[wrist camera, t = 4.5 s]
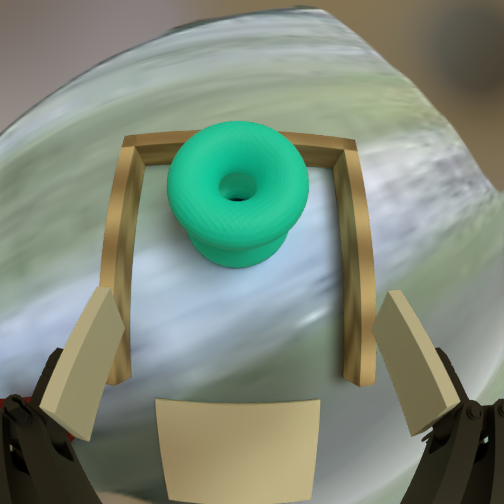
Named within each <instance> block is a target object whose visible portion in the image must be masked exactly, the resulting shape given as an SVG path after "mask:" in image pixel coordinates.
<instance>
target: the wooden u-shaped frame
mask: <svg viewBox="0 0 504 504" xmlns="http://www.w3.org/2000/svg"><path fill="white" fill-rule="evenodd" d="M199 131H201V130H192V131H172V132H159V133H148V134H138V135H129V136H125V137H124V141H123V145H122V148H121V152H120V156H119V160H118V164H117V168H116V173H115V177H114V182H113V187H112V192H111V197H110V202H109V208H108V214H107V220H106V227H105V234H104V242H103V250H102V260H101V271H100V286H99V287H107V288H111V291H112V294H113V297H114V299H115V302H116V305H117V308H118V311H119V313H120V316H121V319H122V321H123V324H124V326H125V330H124V332H123V335H122V338H121V340H120V343H119V346H118V349H117V351H116V354H115V357H114V360H113V363H112V366H111V369H110V372H109V375H108V378H107V381H106V384H108V385H114V386H116V385H118V384H119V383H121V382H123V381H125V380H126V379H128V378H130V377H131V356H130V299H131V278H132V263H133V251H134V241H135V231H136V223H137V215H138V208H139V201H140V194H141V188H142V182H143V177H144V171H145V166H146V165H161V164H171V163H172V161H173V159H174V157H175V155H176V154H177V152H178V151H179V149H180V148H181V147H182V146H183V144H184V143H185V142H186V141H187V140H188V139H190V138H191V137H192V136H193V135H195V134H196V133H198V132H199ZM277 132H279V131H277ZM279 133H280V134H282V135H283V136H284V137H286V138H287V139H288V140H289V141H290V142H291V143H292V144H293V145H294V146H295V148H296V149H297V150H298V152H299V153H300V155H301V157H302V159H303V161H304V163H305V165H306V166H313V167H324V168H333V175H334V183H335V191H336V199H337V208H338V217H339V227H340V239H341V252H342V268H343V289H344V370H343V378H344V379H346V380H348V381H350V382H352V383H353V384H355V385H357V386H359V387H363V386H368V385H374V382H375V365H376V340H375V338H374V335H373V333H372V331H371V328H372V326H373V324H374V322H375V320H376V291H375V273H374V260H373V249H372V239H371V230H370V222H369V214H368V207H367V200H366V194H365V188H364V182H363V176H362V171H361V166H360V161H359V156H358V151H357V147H356V142H355V140H353V139H346V138H339V137H331V136H323V135H314V134H304V133H293V132H279Z"/></svg>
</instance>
